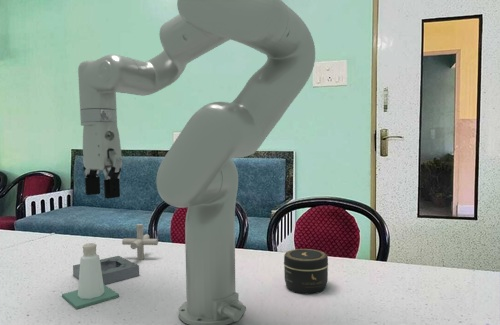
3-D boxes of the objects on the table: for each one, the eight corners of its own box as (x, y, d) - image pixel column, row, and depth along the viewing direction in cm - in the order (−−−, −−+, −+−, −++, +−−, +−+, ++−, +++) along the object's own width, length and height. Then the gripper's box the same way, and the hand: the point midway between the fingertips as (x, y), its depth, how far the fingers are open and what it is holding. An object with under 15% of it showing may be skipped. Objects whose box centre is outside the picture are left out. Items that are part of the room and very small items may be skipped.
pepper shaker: (78, 291, 86) (77, 242, 86) (105, 288, 88) (103, 240, 87) (76, 301, 81) (74, 248, 80) (104, 297, 83) (102, 246, 82)
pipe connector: (163, 254, 117) (162, 221, 116) (151, 264, 107) (150, 228, 106) (130, 253, 118) (130, 220, 117) (116, 263, 108) (115, 228, 107)
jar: (293, 297, 83) (293, 262, 83) (278, 281, 93) (277, 250, 92) (336, 292, 86) (336, 258, 85) (316, 277, 95) (316, 246, 95)
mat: (119, 296, 84) (119, 294, 84) (76, 309, 78) (76, 306, 78) (102, 286, 91) (102, 283, 91) (61, 296, 85) (61, 294, 85)
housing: (139, 275, 98) (139, 265, 98) (91, 288, 90) (90, 277, 90) (118, 265, 107) (118, 255, 107) (73, 275, 99) (72, 265, 98)
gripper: (134, 116, 82) (137, 197, 83) (98, 121, 94) (101, 191, 95) (99, 115, 77) (103, 201, 78) (66, 120, 89) (70, 195, 90)
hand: (102, 195), depth 86 cm, fingers open, 9 cm apart
